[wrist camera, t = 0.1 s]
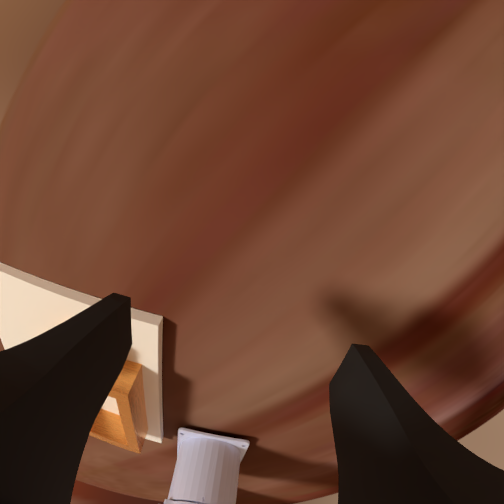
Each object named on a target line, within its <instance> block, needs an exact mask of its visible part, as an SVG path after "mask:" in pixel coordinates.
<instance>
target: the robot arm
mask: <svg viewBox="0 0 504 504" xmlns="http://www.w3.org/2000/svg"><path fill="white" fill-rule="evenodd" d="M131 346H132V328H131V298H130V297H127V296H123V295H120V294H117V293H112V294H111V295H109V296H107V297H105V298H103V299H102V300H100V301H98V302H97V303H95V304H93V305H92V306H90V307H88V308H87V309H85V310H83V311H82V312H80V313H78V314H76V315H75V316H73V317H71V318H70V319H68V320H66V321H65V322H63V323H61V324H59V325H57V326H55V327H53V328H51V329H50V330H48V331H46V332H44V333H42V334H40V335H38V336H36V337H34V338H32V339H30V340H28V341H26V342H23V343H21V344H19V345H16V346H14V347H11V348H9V349H6V350H3V351H0V504H70V502H71V496H72V491H73V487H74V483H75V479H76V474H77V471H78V467H79V464H80V460H81V457H82V454H83V451H84V448H85V445H86V442H87V439H88V436H89V433H90V431H91V428H92V426H93V424H94V421H95V419H96V417H97V415H98V413H99V412H100V410H101V408H102V406H103V404H104V402H105V400H106V398H107V397H108V395H109V393H110V391H111V389H112V387H113V386H114V384H115V382H116V380H117V378H118V376H119V374H120V373H121V371H122V369H123V366H124V364H125V361H126V359H127V357H128V354H129V351H130V349H131ZM329 392H330V414H331V421H332V428H333V434H334V441H335V448H336V455H337V462H338V474H339V492H338V504H504V471H503V470H502V469H499V468H497V467H495V466H493V465H492V464H490V463H488V462H486V461H485V460H483V459H481V458H480V457H478V456H477V455H475V454H474V453H472V452H471V451H469V450H468V449H466V448H465V447H464V446H463V445H461V444H460V443H459V442H457V441H456V440H455V439H454V438H452V437H451V436H450V435H449V434H448V433H447V432H446V431H444V430H443V429H442V428H441V427H440V426H439V425H438V424H437V423H436V422H435V421H434V420H433V419H432V418H431V417H430V416H429V415H428V414H427V413H426V412H425V411H424V410H423V409H422V408H421V407H420V406H419V405H418V403H417V402H416V401H415V400H414V399H413V398H412V397H411V396H410V394H409V393H408V392H407V391H406V390H405V389H404V387H403V386H402V385H401V384H400V383H399V381H398V380H397V379H396V378H395V376H394V375H393V374H392V373H391V372H390V370H389V369H388V368H387V367H386V365H385V364H384V363H383V362H382V361H381V359H380V358H379V357H378V356H377V355H376V354H375V352H374V351H373V350H372V349H371V348H370V347H369V346H367V345H359V344H352V345H351V347H350V349H349V350H348V352H347V354H346V356H345V358H344V360H343V361H342V363H341V365H340V367H339V368H338V370H337V372H336V374H335V375H334V377H333V379H332V380H331V382H330V384H329ZM249 445H250V441H248V440H244V439H237V438H231V437H225V436H220V435H215V434H210V433H205V432H200V431H195V430H191V429H187V428H182V427H180V428H179V429H178V447H177V462H176V466H175V470H174V474H173V478H172V483H171V487H170V491H169V495H168V499H165V501H164V504H236V496H237V487H238V477H239V467H240V463H241V461H242V459H243V457H244V455H245V453H246V451H247V449H248V447H249Z"/></svg>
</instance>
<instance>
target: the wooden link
mask: <svg viewBox="0 0 504 504" xmlns="http://www.w3.org/2000/svg"><path fill="white" fill-rule="evenodd" d="M108 396H110V397H112V398H115V399H116V402H117V406H118V410H119V414H120V415H117V414H115V413H112V412H109V411H107V410H104V409H101V410H100V412H99V413H98V415H97V417H96V419H95V421H94V424H93V426H92V428H91V431H90V433H89V435H91V436H93V437H95V438H98V439H100V440H103V441H105V442H108V443H111V444H113V445H116V446H119V447H121V448H124V449H127V450H130V451H133V452H136V453H139V454H140V452H141V449H142V446H143V443H144V440H145V437H146V434H147V431H148V423H147V415H146V407H145V397H144V387H143V375H142V364H139V363H136V362H132V361H129V360H126V361H125V364H124V366H123V369H122V371H121V373H120V374H119V376H118V378H117V380H116V382H115V384H114V386H113V387H112V389H111V391H110V393H109V395H108Z"/></svg>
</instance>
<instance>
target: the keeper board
mask: <svg viewBox="0 0 504 504" xmlns="http://www.w3.org/2000/svg"><path fill="white" fill-rule="evenodd" d="M100 300H102V299H100V298H97V297H94V296H91V295H88V294H84V293H81V292H78V291H75V290H72V289H70V288H67V287H64V286H61V285H58V284H55V283H52V282H50V281H47V280H44V279H41V278H39V277H36V276H33V275H31V274H28V273H26V272H23V271H20V270H18V269H15V268H13V267H10V266H8V265H6V264H3V263H1V262H0V338H1V341H2V343H3V346H4V348H5V350H6V349H9V348H11V347H14V346H16V345H19V344H21V343H23V342H26V341H28V340H30V339H32V338H34V337H36V336H38V335H40V334H42V333H44V332H46V331H48V330H50V329H51V328H53V327H55V326H57V325H59V324H61V323H63V322H65V321H66V320H68V319H70V318H71V317H73V316H75V315H76V314H78V313H80V312H82V311H83V310H85V309H87V308H88V307H90V306H92V305H93V304H95V303H97V302H98V301H100ZM131 328H132V346H131V349H130V351H129V354H128V357H127V359H126V360H129V361H132V362H136V363H139V364H142V375H143V387H144V397H145V407H146V415H147V423H148V431H147V434H146V437H145V439H149V440H152V441H155V442H159V443H162V440H163V436H164V432H163V408H162V333H163V316H159V315H156V314H152V313H148V312H145V311H141V310H137V309H134V308H131ZM101 409H104V410H107V411H109V412H112V413H115V414H117V415H120V414H119V410H118V406H117V402H116V399H115V398H112V397H110V396H108V397H107V398H106V400H105V402H104V404H103V406H102V408H101Z"/></svg>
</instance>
